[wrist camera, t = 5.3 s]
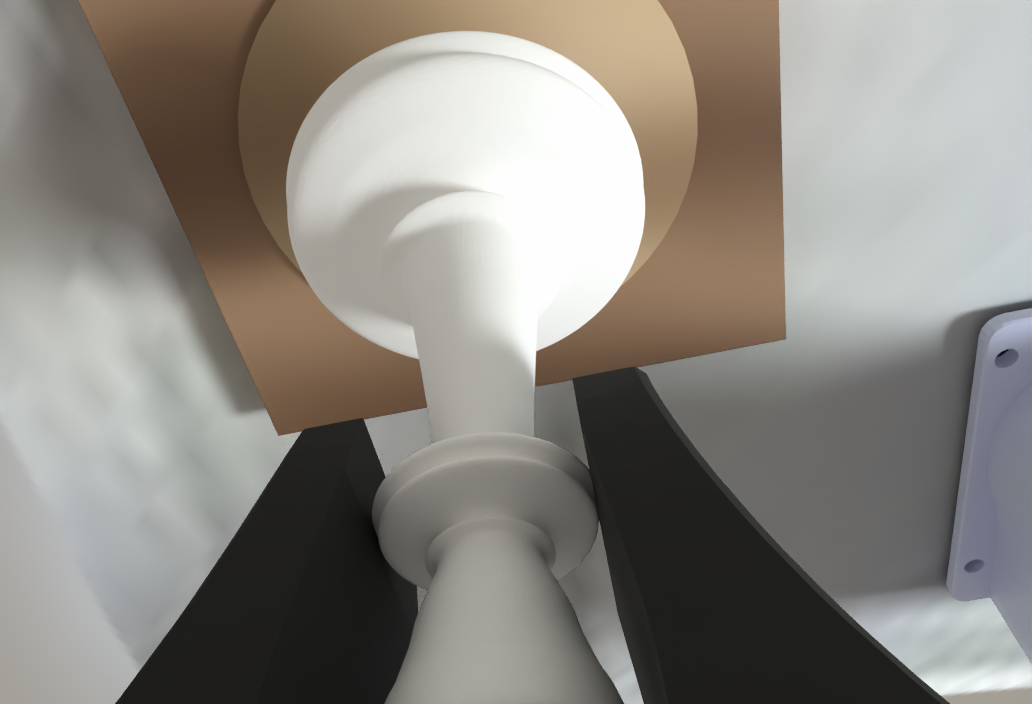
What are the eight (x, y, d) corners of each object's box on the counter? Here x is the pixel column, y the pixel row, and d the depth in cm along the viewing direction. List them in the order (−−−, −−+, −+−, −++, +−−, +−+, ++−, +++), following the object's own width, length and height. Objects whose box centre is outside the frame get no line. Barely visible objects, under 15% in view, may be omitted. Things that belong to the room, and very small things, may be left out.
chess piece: (396, 380, 15) (366, 1236, 7) (211, 128, 12) (-188, 1153, 4) (685, 267, 14) (1013, 1126, 6) (564, -41, 11) (917, 906, 3)
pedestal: (771, 313, 20) (788, 344, 19) (285, 407, 20) (276, 441, 19) (751, -297, 13) (776, -297, 12) (47, -132, 14) (17, -120, 13)
